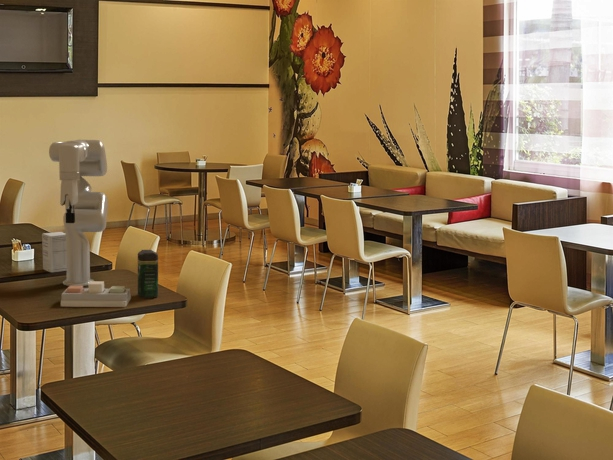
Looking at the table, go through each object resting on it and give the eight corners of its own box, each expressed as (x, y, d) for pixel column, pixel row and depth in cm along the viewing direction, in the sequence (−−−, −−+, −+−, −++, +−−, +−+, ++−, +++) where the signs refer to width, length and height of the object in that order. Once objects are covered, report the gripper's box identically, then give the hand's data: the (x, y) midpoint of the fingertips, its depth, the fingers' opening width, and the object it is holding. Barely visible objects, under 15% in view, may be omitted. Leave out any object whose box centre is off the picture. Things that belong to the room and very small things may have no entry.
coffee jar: (159, 298, 326) (159, 252, 323) (139, 299, 323) (139, 252, 321) (156, 293, 335) (155, 247, 332) (136, 294, 332) (136, 248, 330)
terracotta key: (70, 294, 318) (69, 285, 317) (83, 294, 318) (83, 285, 318) (67, 297, 313) (66, 288, 312) (80, 297, 313) (80, 288, 313)
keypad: (68, 298, 322) (68, 287, 321) (130, 299, 323) (130, 287, 323) (60, 306, 309) (60, 294, 308) (125, 306, 311) (125, 295, 310)
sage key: (112, 294, 319) (112, 285, 318) (125, 294, 319) (125, 286, 319) (109, 297, 314) (109, 288, 313) (123, 297, 314) (123, 288, 314)
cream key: (91, 290, 318) (90, 281, 317) (104, 290, 318) (104, 281, 318) (88, 293, 313) (88, 284, 313) (101, 293, 313) (101, 284, 313)
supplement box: (62, 267, 383) (61, 231, 381) (70, 270, 376) (70, 234, 374) (42, 269, 377) (41, 233, 375) (50, 272, 370) (49, 235, 368)
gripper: (64, 174, 328) (65, 220, 330) (55, 177, 313) (56, 225, 316) (83, 174, 328) (84, 220, 331) (75, 177, 313) (76, 225, 316)
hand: (70, 222), depth 323 cm, fingers closed
